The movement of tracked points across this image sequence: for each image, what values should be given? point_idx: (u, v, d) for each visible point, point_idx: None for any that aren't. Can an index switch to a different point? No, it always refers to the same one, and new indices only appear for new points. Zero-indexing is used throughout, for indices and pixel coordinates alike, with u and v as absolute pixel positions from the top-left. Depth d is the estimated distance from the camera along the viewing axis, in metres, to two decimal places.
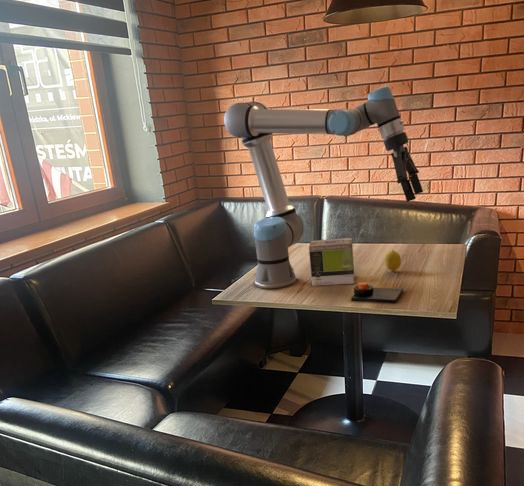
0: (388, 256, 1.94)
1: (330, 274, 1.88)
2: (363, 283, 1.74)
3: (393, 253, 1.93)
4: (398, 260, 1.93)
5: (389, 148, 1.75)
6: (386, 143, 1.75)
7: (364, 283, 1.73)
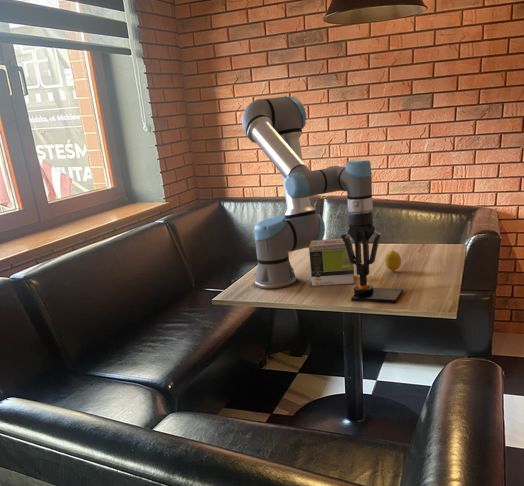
0: (388, 256, 1.94)
1: (330, 274, 1.88)
2: None
3: (393, 253, 1.93)
4: (398, 260, 1.93)
5: None
6: None
7: None
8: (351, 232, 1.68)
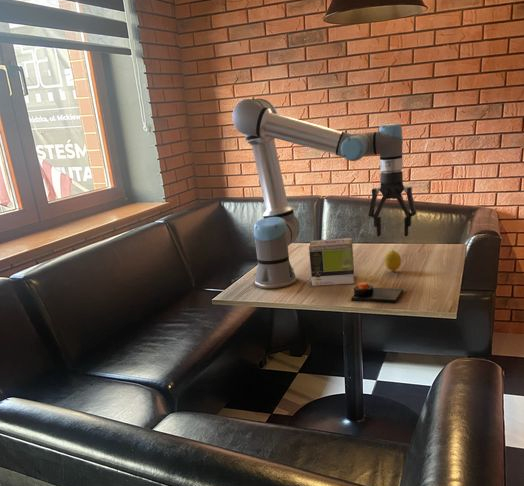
0: (388, 256, 1.94)
1: (330, 274, 1.88)
2: (363, 283, 1.74)
3: (393, 253, 1.93)
4: (398, 260, 1.93)
5: None
6: None
7: (364, 283, 1.73)
8: (382, 190, 1.87)
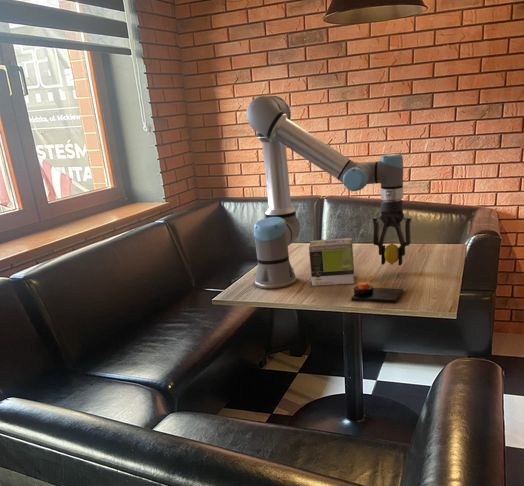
0: (387, 249, 1.93)
1: (330, 274, 1.88)
2: (363, 283, 1.74)
3: (392, 246, 1.93)
4: (397, 253, 1.93)
5: None
6: None
7: (364, 283, 1.73)
8: (382, 218, 1.91)
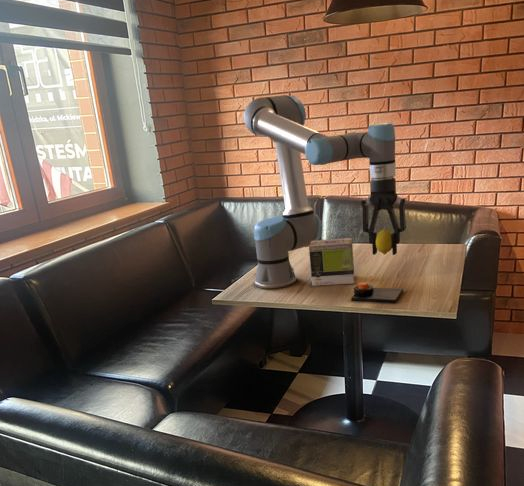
0: (378, 236, 1.65)
1: (330, 274, 1.88)
2: (363, 283, 1.74)
3: (384, 232, 1.64)
4: (390, 241, 1.64)
5: None
6: None
7: (364, 283, 1.73)
8: (372, 200, 1.63)
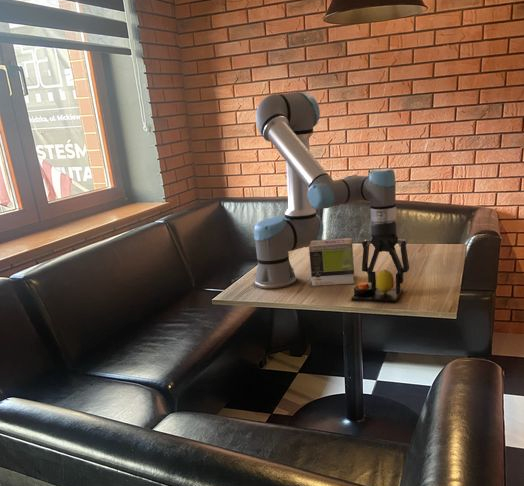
0: (379, 276, 1.68)
1: (330, 274, 1.88)
2: (363, 283, 1.74)
3: (385, 273, 1.68)
4: (390, 281, 1.68)
5: None
6: None
7: (364, 283, 1.73)
8: (373, 242, 1.66)
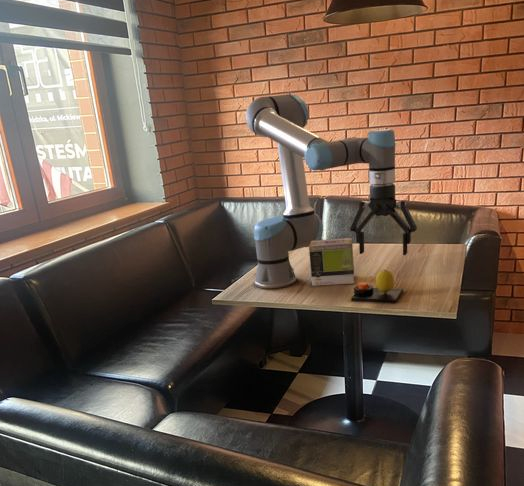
0: (379, 276, 1.68)
1: (330, 274, 1.88)
2: (363, 283, 1.74)
3: (385, 273, 1.68)
4: (390, 281, 1.68)
5: None
6: None
7: (364, 283, 1.73)
8: (371, 206, 1.62)
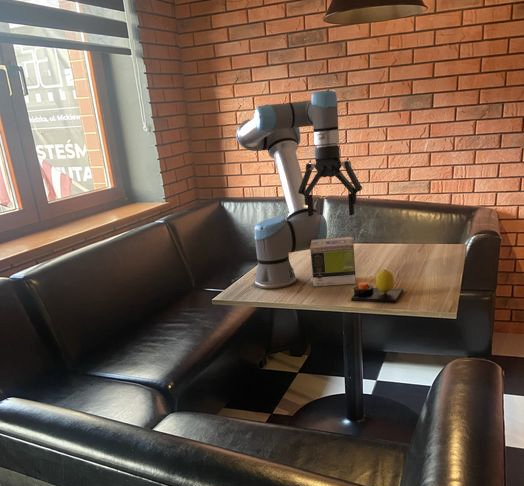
0: (379, 276, 1.68)
1: (332, 275, 1.87)
2: (363, 283, 1.74)
3: (385, 273, 1.68)
4: (390, 281, 1.68)
5: None
6: None
7: (364, 283, 1.73)
8: (317, 167, 1.65)
